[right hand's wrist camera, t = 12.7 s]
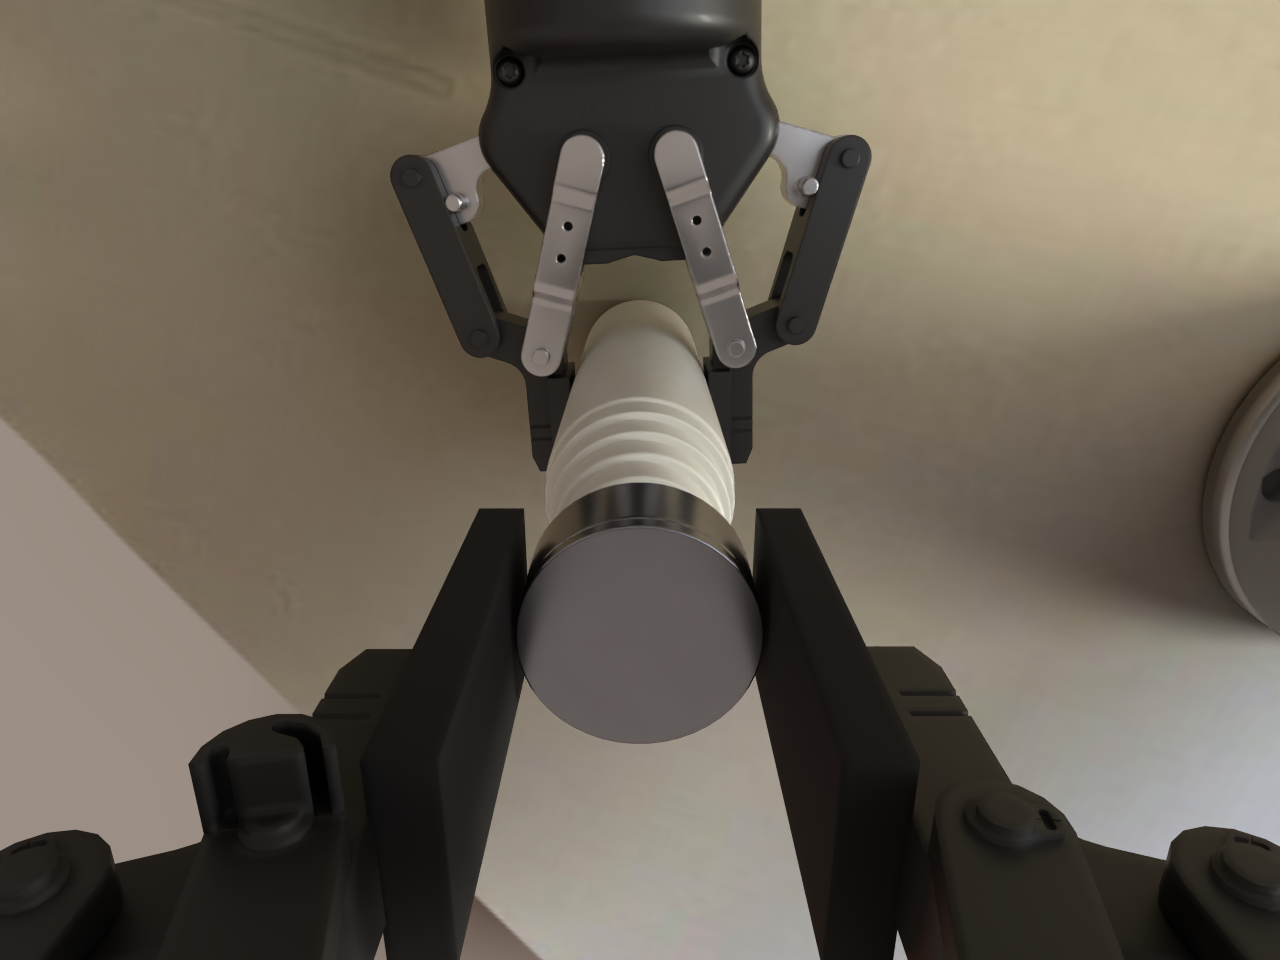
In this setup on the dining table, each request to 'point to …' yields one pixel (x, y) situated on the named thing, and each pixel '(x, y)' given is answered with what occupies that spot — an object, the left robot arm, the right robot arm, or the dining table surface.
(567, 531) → the cap
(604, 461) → the bottle
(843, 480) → the dining table surface
